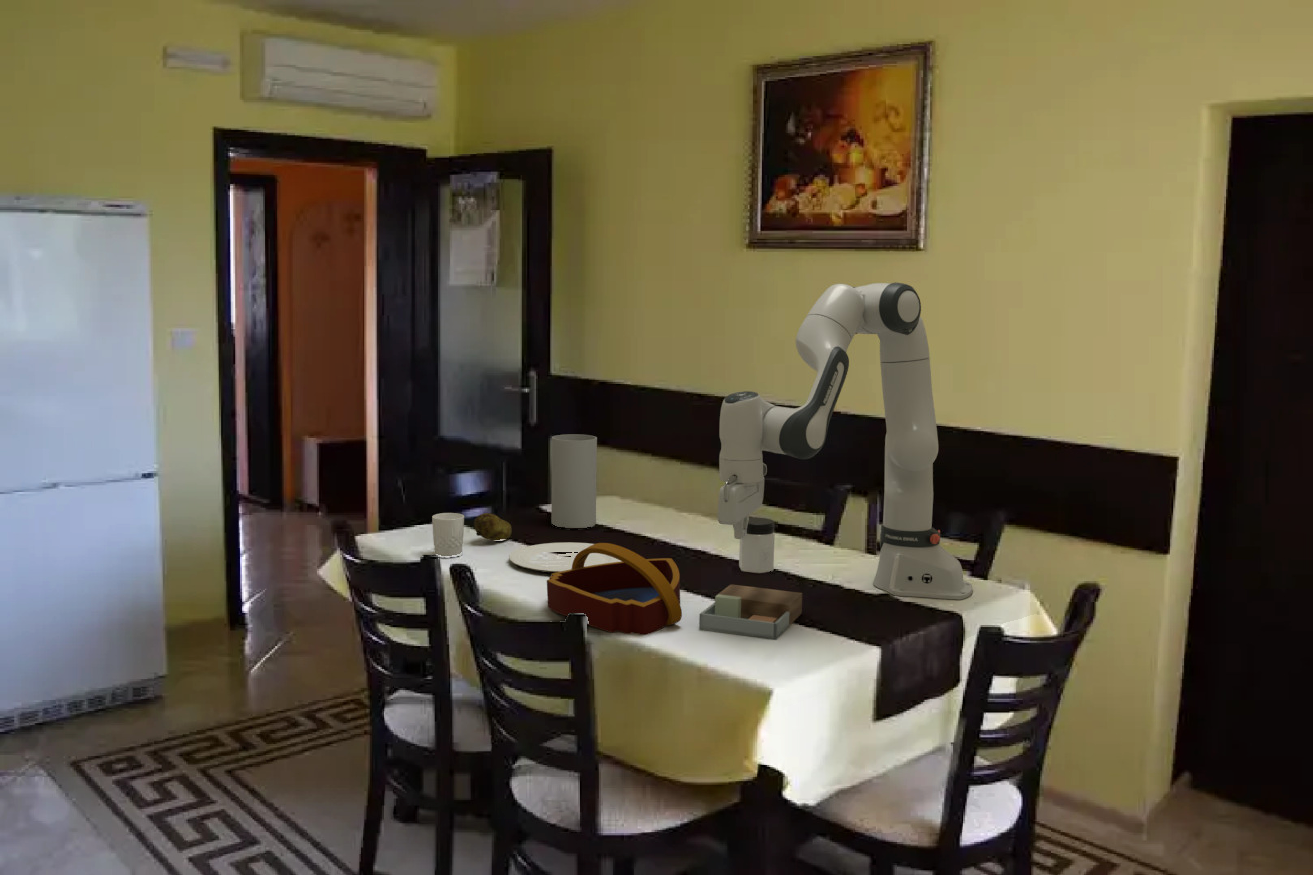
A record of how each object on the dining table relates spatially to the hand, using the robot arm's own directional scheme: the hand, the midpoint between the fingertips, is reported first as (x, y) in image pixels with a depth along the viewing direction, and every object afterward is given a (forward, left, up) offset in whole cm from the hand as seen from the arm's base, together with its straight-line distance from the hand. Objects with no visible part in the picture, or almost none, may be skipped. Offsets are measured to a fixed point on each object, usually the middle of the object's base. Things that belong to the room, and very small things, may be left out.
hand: (740, 537), depth 244 cm
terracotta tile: (-7, +6, -15) cm, 17 cm away
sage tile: (+1, +2, -15) cm, 15 cm away
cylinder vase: (+70, -66, -18) cm, 98 cm away
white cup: (+83, -21, -18) cm, 88 cm away
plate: (+53, -28, -18) cm, 63 cm away
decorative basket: (+25, +4, -18) cm, 31 cm away
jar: (+9, -42, -18) cm, 47 cm away
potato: (+80, -39, -18) cm, 91 cm away
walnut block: (-3, -5, -18) cm, 19 cm away
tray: (-3, +5, -18) cm, 18 cm away
